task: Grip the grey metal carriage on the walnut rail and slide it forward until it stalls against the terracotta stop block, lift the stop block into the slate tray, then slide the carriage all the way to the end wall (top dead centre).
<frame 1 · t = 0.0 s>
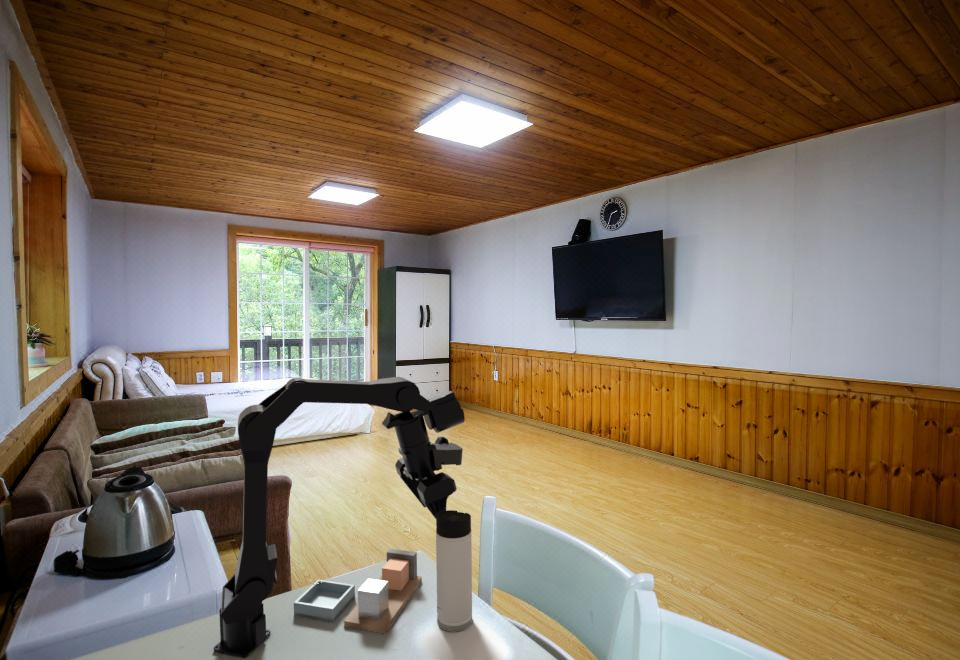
hand: (434, 514, 100), 15 cm above the table, tool pointing down, fingers open, 9 cm apart
stop block: (395, 583, 102), point 1 cm above the table, touching rail base
travel mug: (454, 622, 91), on the table
carriage: (373, 599, 92), point 4 cm above the table, slide at 0.0 cm
tray: (325, 606, 96), on the table
rail base: (385, 602, 97), on the table
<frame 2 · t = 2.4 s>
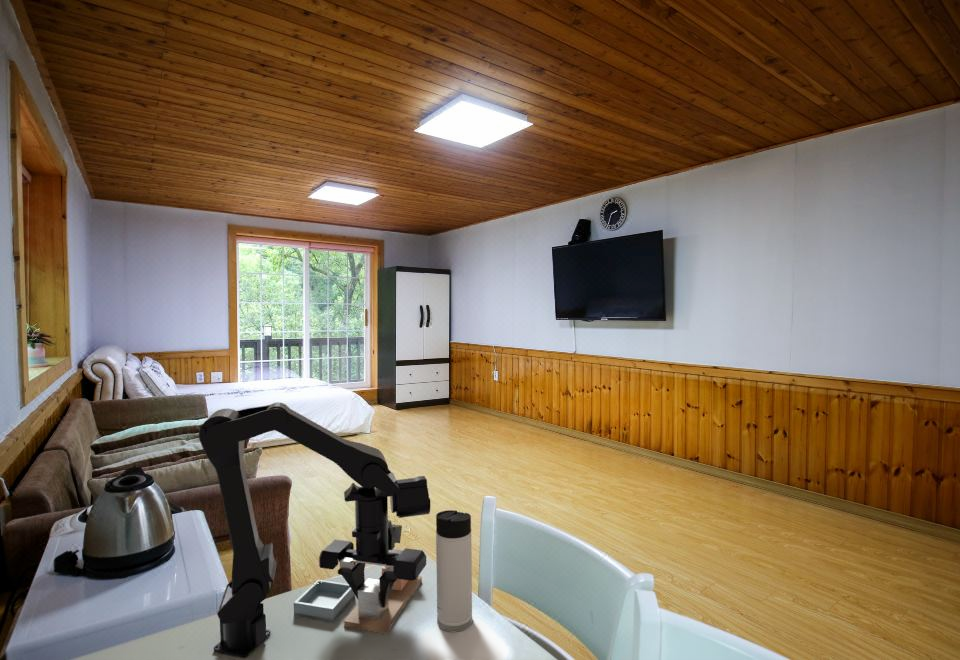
hand: (373, 604, 92), 3 cm above the table, tool pointing down, fingers closed on carriage, 4 cm apart
carriage: (373, 599, 92), point 4 cm above the table, slide at 0.0 cm, touching gripper
everything else where it was.
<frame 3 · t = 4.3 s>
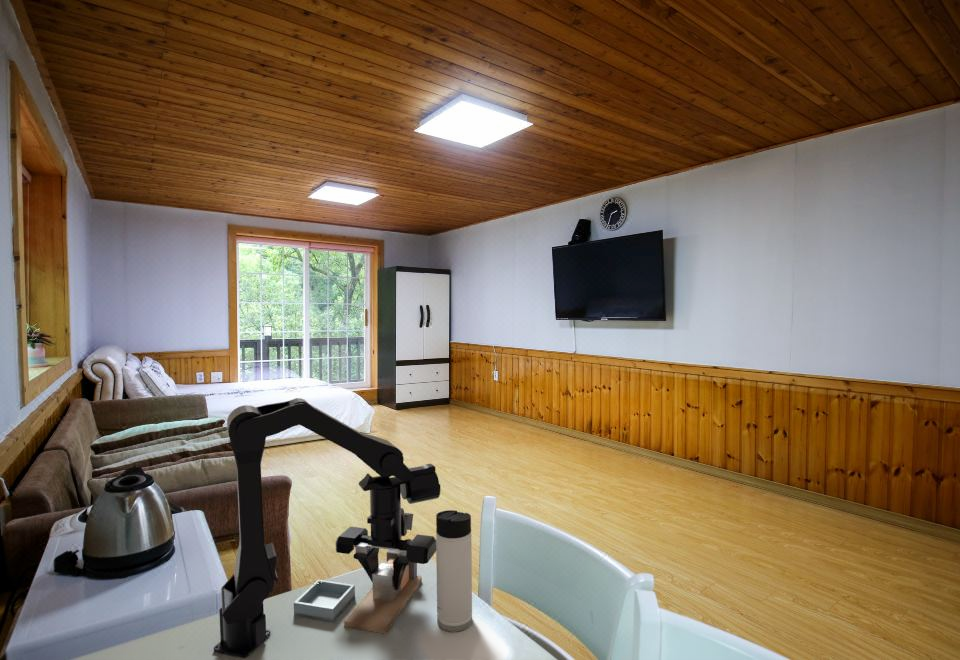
hand: (387, 587, 98), 3 cm above the table, tool pointing down, fingers closed on carriage, 4 cm apart
carriage: (386, 582, 98), point 4 cm above the table, slide at 5.6 cm, touching gripper
everything else where it was.
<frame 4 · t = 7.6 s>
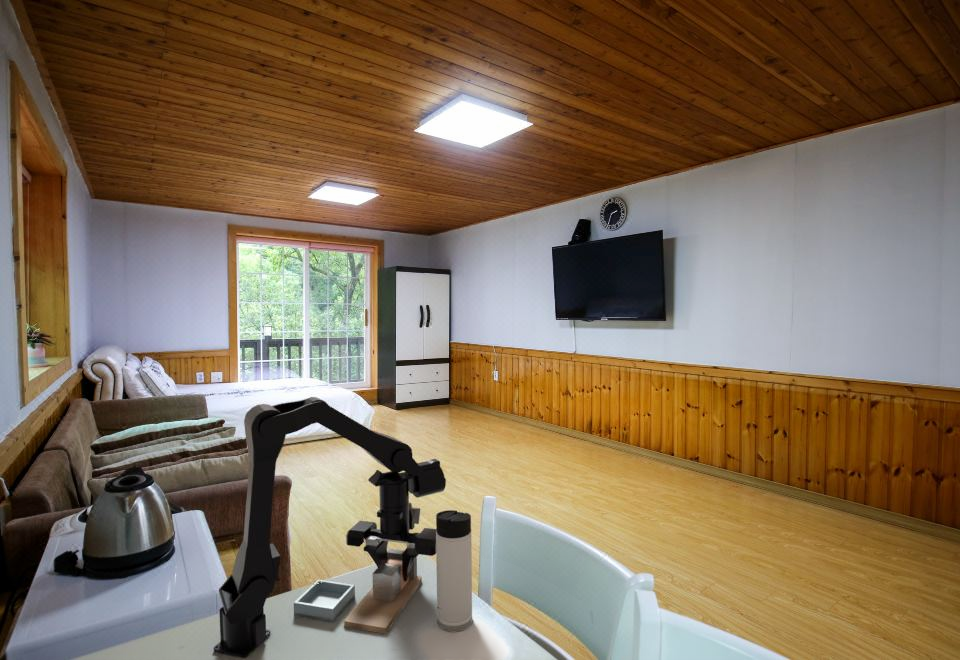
hand: (395, 578, 102), 2 cm above the table, tool pointing down, fingers closed on stop block, 4 cm apart
stop block: (395, 583, 102), point 1 cm above the table, touching carriage, gripper, rail base
carriage: (387, 582, 98), point 4 cm above the table, slide at 5.7 cm, touching stop block
everything else where it was.
when the fingers open (4 cm above the table, at t = 11.6 s): stop block drops 2 cm, resting on tray.
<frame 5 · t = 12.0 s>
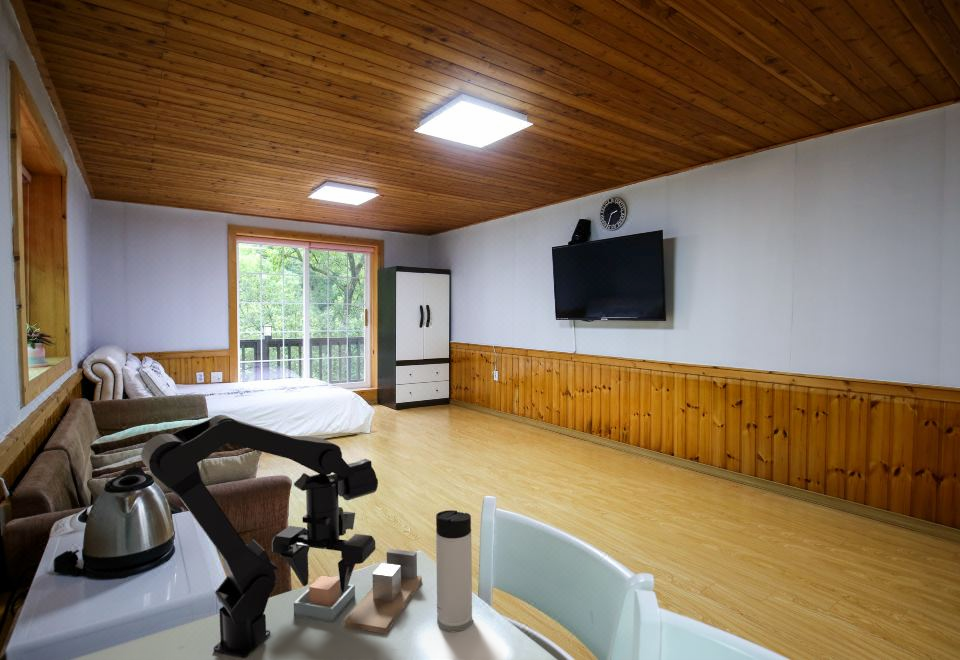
hand: (324, 588, 96), 4 cm above the table, tool pointing down, fingers open, 8 cm apart
stop block: (325, 603, 96), point 1 cm above the table, touching tray
carriage: (387, 582, 98), point 4 cm above the table, slide at 5.7 cm
everything else where it was.
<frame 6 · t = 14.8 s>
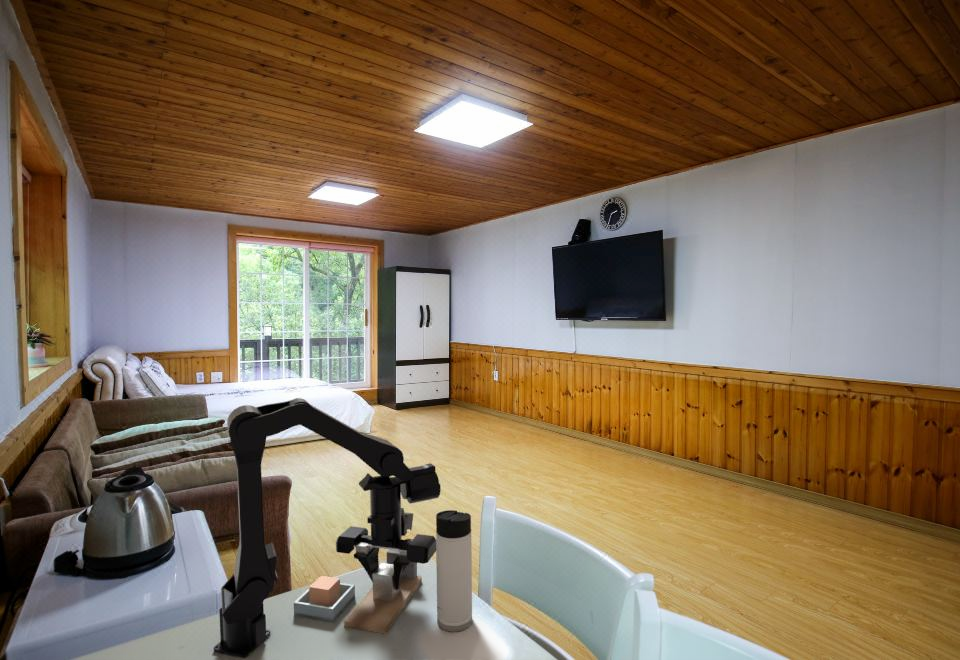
hand: (387, 587, 98), 3 cm above the table, tool pointing down, fingers closed on carriage, 4 cm apart
carriage: (387, 582, 98), point 4 cm above the table, slide at 5.7 cm, touching gripper
everything else where it was.
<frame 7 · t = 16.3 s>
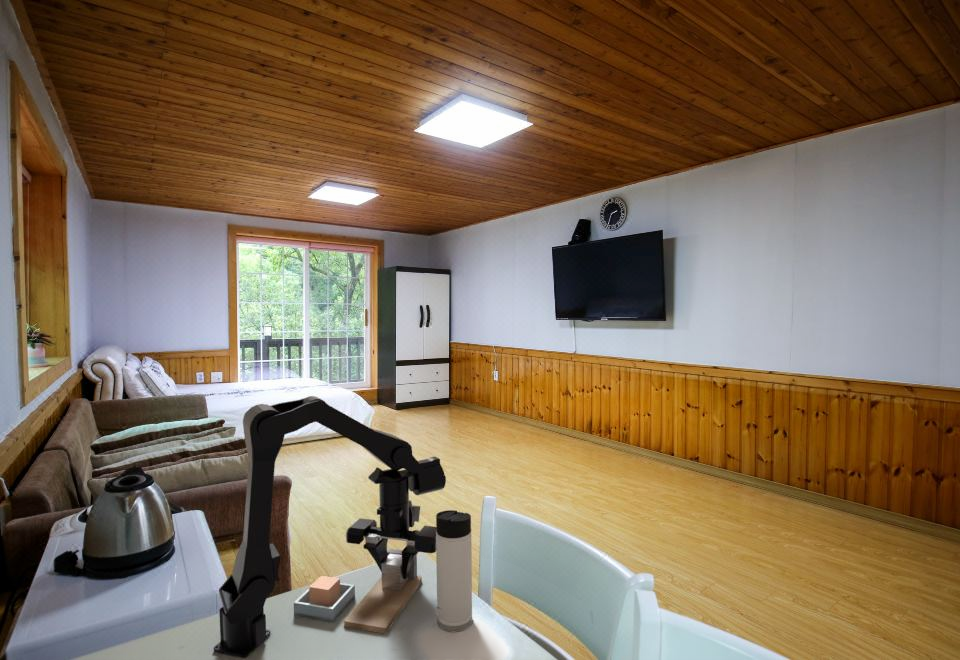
hand: (395, 576, 102), 3 cm above the table, tool pointing down, fingers closed on carriage, 4 cm apart
carriage: (395, 571, 102), point 4 cm above the table, slide at 9.5 cm, touching gripper
everything else where it was.
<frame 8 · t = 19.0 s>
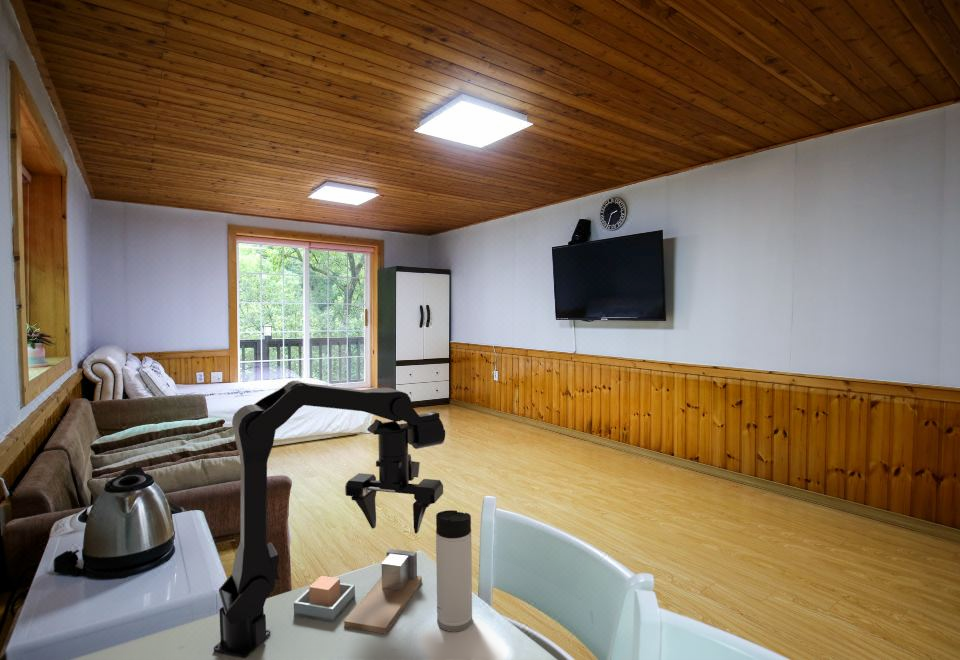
hand: (395, 530, 101), 12 cm above the table, tool pointing down, fingers open, 9 cm apart
carriage: (395, 571, 102), point 4 cm above the table, slide at 9.6 cm
everything else where it was.
at the end: carriage slide at 9.6 cm; stop block 0.0 cm off-centre on the tray, point 0.6 cm above the tray's base; stop block tilted 0° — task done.
